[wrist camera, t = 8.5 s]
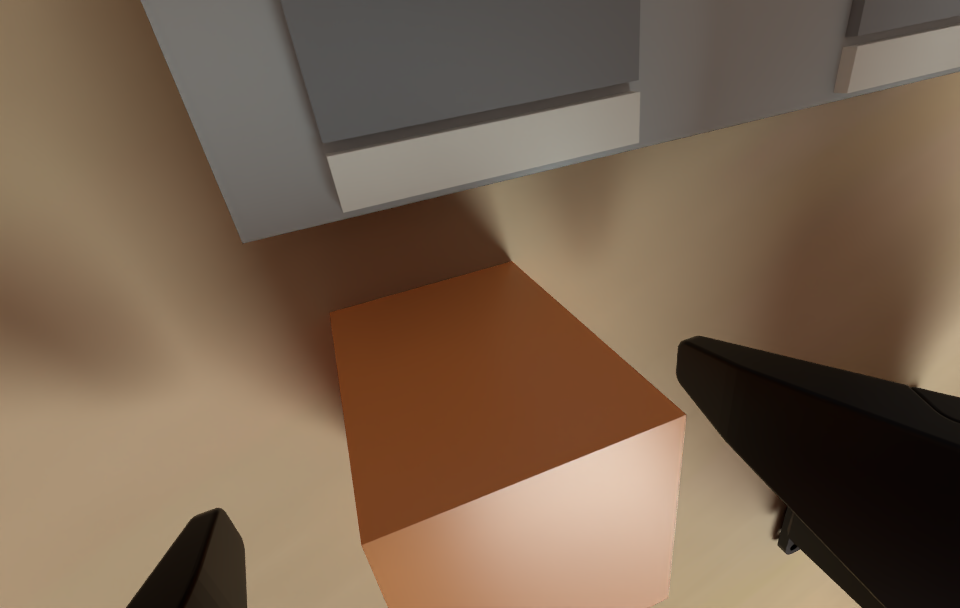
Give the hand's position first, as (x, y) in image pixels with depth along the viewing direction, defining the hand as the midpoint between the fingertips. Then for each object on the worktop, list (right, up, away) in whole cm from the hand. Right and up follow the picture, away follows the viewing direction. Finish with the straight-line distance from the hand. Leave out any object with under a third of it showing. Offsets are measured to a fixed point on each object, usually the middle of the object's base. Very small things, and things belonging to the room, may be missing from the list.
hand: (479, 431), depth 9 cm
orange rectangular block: (-1, +1, +2) cm, 3 cm away
